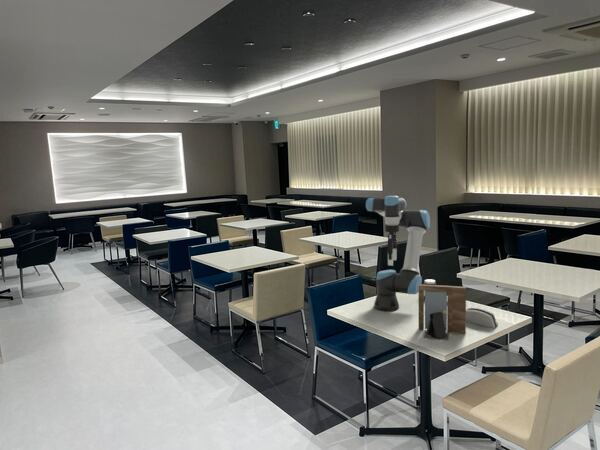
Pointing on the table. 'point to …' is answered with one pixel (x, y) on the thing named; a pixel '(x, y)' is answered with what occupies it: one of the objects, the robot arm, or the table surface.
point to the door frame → (454, 307)
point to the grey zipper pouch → (481, 317)
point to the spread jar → (429, 283)
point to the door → (435, 305)
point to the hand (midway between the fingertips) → (392, 262)
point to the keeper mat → (435, 338)
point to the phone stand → (436, 326)
